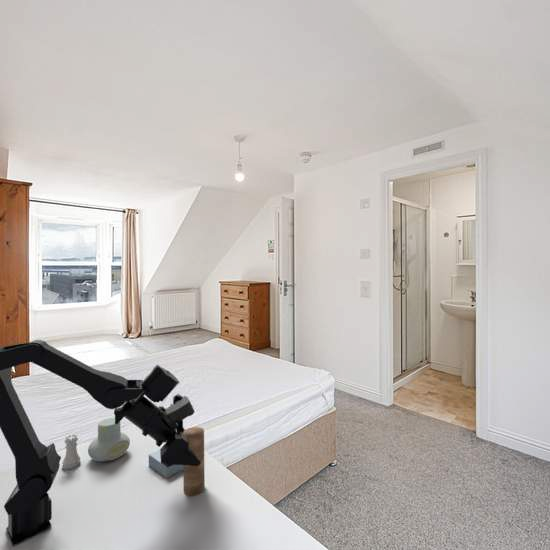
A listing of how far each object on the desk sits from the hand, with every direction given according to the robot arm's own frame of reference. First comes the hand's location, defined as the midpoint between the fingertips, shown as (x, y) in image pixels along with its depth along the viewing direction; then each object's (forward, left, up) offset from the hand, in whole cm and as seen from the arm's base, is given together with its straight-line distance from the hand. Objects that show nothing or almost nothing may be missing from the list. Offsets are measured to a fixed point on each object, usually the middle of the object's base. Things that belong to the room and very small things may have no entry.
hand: (196, 454), depth 82 cm
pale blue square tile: (+2, +14, -8) cm, 17 cm away
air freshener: (-8, +32, -8) cm, 34 cm away
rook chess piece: (-17, +35, -8) cm, 40 cm away
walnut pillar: (-1, 0, -8) cm, 8 cm away
